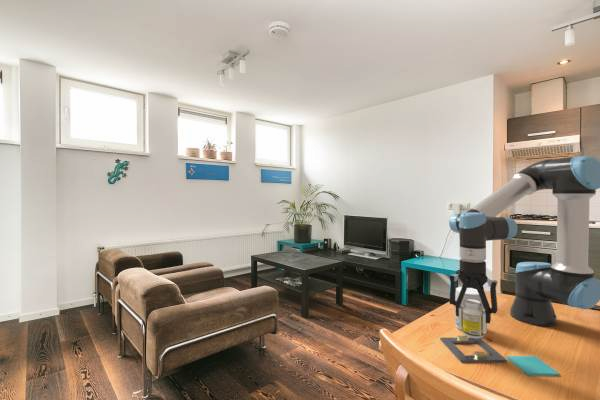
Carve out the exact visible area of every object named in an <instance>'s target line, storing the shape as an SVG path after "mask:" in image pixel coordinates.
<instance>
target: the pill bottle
mask: <svg viewBox="0 0 600 400" xmlns="http://www.w3.org/2000/svg"><path fill="white" fill-rule="evenodd" d="M464 304H465V306H464V307H463V308H462V330H461V331H462V334H464V335H463V336H467V337H468V338H476V339H478V338H481V339H483V338H484V336H485V334H483V310H482V309H481V302H479V301H477V300H473V299H467V300H465V303H464Z"/></svg>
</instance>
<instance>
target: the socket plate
mask: <svg viewBox="0 0 600 400" xmlns="http://www.w3.org/2000/svg"><path fill="white" fill-rule="evenodd" d="M439 341H441V343H442V344H444V346H446V348H447V349H448V350H449V351H450V352H451V354H452V355H454V356H455V358H456V359H457V360H458V362H460V363H508V359H507V358H506V357H504V356H503V355H502V354H501V353H499V352H498V351H497V350H496V349H494V348H493V347H492V345H489V343H488V342H486V341H485V340H484V339H483V338H478V339H476V338H470V337H468V336H466V335H457V337H440V340H439ZM456 344H477V345H478V346H479V347H480V348H482V349H483V350H484V351H474V355H468V354H464V353H463V352H462V350H461V349H460V348H459V347H457V346H456Z"/></svg>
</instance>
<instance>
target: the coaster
mask: <svg viewBox="0 0 600 400" xmlns="http://www.w3.org/2000/svg"><path fill="white" fill-rule="evenodd" d="M505 359H507V361H509V362H511V363H512V364H513V365H514V366H515V367H517V368H518V370H520V371H521V372H523V373H525V375H526V376H529V377H530V376H531V377H532V376H534V377H535V376H537V377H538V376H539V377H541V376H543V377H544V376H547V377H549V376H550V377H551V376H552V377H553V376H555V375H557V376H558V375H560V372H558V370H556V369H554V368H553V367H551V366H550V365H548V363H546V362H544V361H543V360H541V359H540V358H539V357H537V356H536V355H506V357H505ZM560 376H561V375H560Z"/></svg>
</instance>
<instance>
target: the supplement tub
mask: <svg viewBox="0 0 600 400" xmlns="http://www.w3.org/2000/svg"><path fill="white" fill-rule="evenodd" d="M461 288H462V286H459V287H456V296H455V301H457V299H458V296H459V294H460V291H461ZM467 299H473V300H477V301H479V302H481V309H482V310H483V312H484V311H485V310H484V307H483V304H482V301H481V298H480V296H479V293H478V291H477V289H473V288H467V290H466V292H465V295H464V298H463V300H462V303H461V306H463V307H464V306H465V304H464V303H465V300H467ZM454 316H455V317H454V320H455V323H454V324H455V327H456V328H457V329H459V330H460V331H462V328H460V327H459V317H458V316H456V307H455V306H454Z"/></svg>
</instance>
